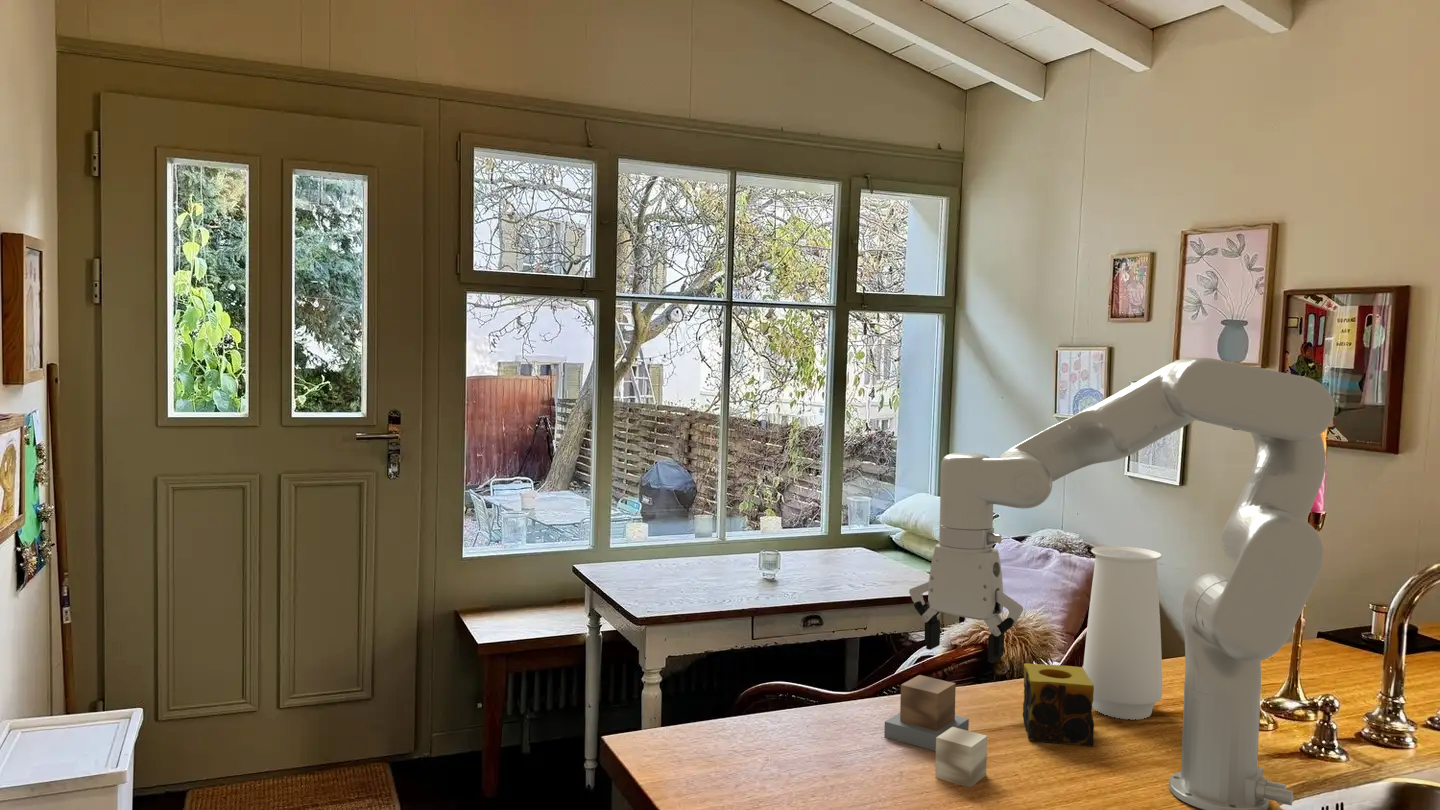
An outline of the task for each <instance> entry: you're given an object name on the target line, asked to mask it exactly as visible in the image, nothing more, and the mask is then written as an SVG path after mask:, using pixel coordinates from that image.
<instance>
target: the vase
mask: <svg viewBox="0 0 1440 810" xmlns="http://www.w3.org/2000/svg"><path fill="white" fill-rule="evenodd" d="M1090 552H1091V553H1092V554H1093V555H1095V558H1094V566H1093V575H1092V584H1091V591H1090V601H1089V609H1088V618H1087V627H1086V636H1085V647H1084V655H1083V666H1082V667H1083V668H1084V670H1085V672H1086V674H1087V676H1088V677H1089V679H1090V680H1091V682H1092V683H1093V685H1094V693H1093V703H1092V710H1094V711H1095V710H1096V711H1095V712H1097V711H1098V712H1097V713H1099V712H1100V713H1099V714H1101V713H1102V714H1101V715H1103V714H1104V716H1106V715H1108V716H1107V717H1110V716H1111V717H1110V718H1114V717H1115V719H1119V718H1120V720H1128V719H1130V720H1133V721H1134V720H1135V719H1136V720H1137V721H1138V720H1144V718H1145V719H1147V717H1148V718H1149V717H1151V716H1152V713H1153V708H1154V706H1155V704H1156V703H1158V702H1159V701H1161V699H1162V696H1163V660H1162V658H1163V657H1162V655H1163V654H1162V637H1161V636H1162V634H1161V633H1162V632H1161V630H1162V629H1161V616H1160V615H1161V614H1160V612H1161V611H1160V596H1159V593H1160V592H1159V579H1158V577H1159V576H1158V562H1157V561H1158V560H1160V559H1162V557H1163V556H1162V553H1160V552H1158V551H1155V550H1152V549H1147V548H1144V547H1143V548H1141V547H1136V546H1125V545H1124V546H1123V545H1101V546H1095V547H1093V548H1091V549H1090Z"/></svg>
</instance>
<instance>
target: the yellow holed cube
mask: <svg viewBox="0 0 1440 810" xmlns="http://www.w3.org/2000/svg"><path fill="white" fill-rule="evenodd" d="M1093 693H1094V685H1093V683H1092V682H1091V680H1090V679H1089V677H1088V676H1087V674H1086V672H1085V670H1084V668H1083V666H1082V667H1081V666H1072V665H1062V664H1061V665H1059V664H1058V665H1057V664H1044V663H1043V664H1042V663H1041V664H1040V663H1028V662H1027V663H1023V703H1022V711H1023V712H1022V718H1023V725H1024V728H1025V731H1026V734H1027V739H1028V740H1029V741H1033V742H1037V743H1038V742H1039V743H1047V744H1049V743H1050V744H1051V743H1052V744H1061V745H1062V744H1063V745H1069V744H1070V745H1071V744H1072V745H1078V746H1086V747H1093V746H1094V745H1095V744H1094V741H1095V740H1094V734H1095V733H1094V732H1095V731H1094V730H1095V723H1094V722H1095V720H1094V717H1093V716H1094V715H1093V708H1092V703H1093Z"/></svg>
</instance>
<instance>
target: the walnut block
mask: <svg viewBox="0 0 1440 810" xmlns="http://www.w3.org/2000/svg"><path fill="white" fill-rule="evenodd" d="M956 686H957V685H956V682H952V681H946V680H943V679H938V678H935V677H931V676H930V677H929V676H926V675H922V674H919V675H916V676H914V677H913V678H911V679H909V680H907V681H905V682H903V683H902V684H900V704H899V708H900V709H899V710H900V711H899V713H900V721H901V722H905V723H909V724H912V725H916V726H920V727H924V728H927V729H931V730H935V731H938V730H939V729H941V728H942V727H944V726H945V725H947V724H949V723H950V722H952V721H953V720H955V715H956V691H957V690H956Z"/></svg>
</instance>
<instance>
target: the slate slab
mask: <svg viewBox="0 0 1440 810" xmlns="http://www.w3.org/2000/svg"><path fill="white" fill-rule="evenodd" d="M969 723H970V719H969V718H967V717H963V716H959V715H956V714H955V720H953V721H952V722H950V723H949V724H947V725H945V726H944V727H942V728H941V729H939V730H938V731H935V730H931V729H927V728H924V727H920V726H916V725H912V724H909V723H905V722H901V721H900V712H899V713H897V714H895V715H894V716H891V717H889V718H888V719H887V720H885V721H884V731H883V732H884V734H883V736H884V737H883V738H888V739H891V740H894V741H899V742H903V743H906V744H909V745H912V746H915V747H916V746H917V747H920V748H924V749H927V750H931V751H934V752H936V737H938V736H939V735H941V734H942V733H944V732H945V731H947V730H948V729H950V728H951V727H956V728H960V729H963V730H967V731H969V725H970V724H969Z"/></svg>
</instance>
